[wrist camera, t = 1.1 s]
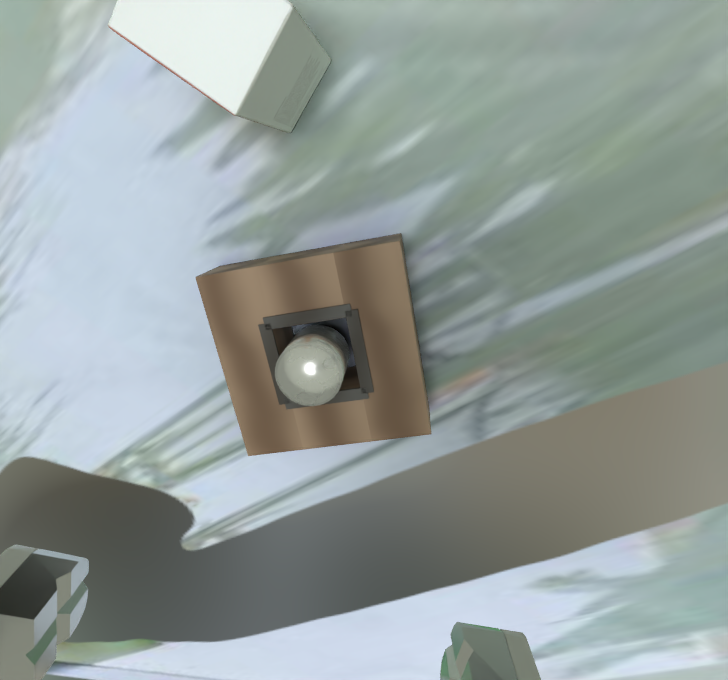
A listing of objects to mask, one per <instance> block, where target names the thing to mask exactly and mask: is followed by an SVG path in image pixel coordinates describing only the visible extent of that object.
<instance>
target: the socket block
mask: <svg viewBox="0 0 728 680" xmlns="http://www.w3.org/2000/svg"><path fill="white" fill-rule="evenodd" d="M196 281H197V284H198V288H199V291H200V294H201V298H202V301H203V304H204V308H205V311H206V315H207V318H208V321H209V325H210V328H211V331H212V335H213V338H214V342H215V345H216V348H217V352H218V355H219V359H220V362H221V365H222V369H223V372H224V375H225V379H226V382H227V386H228V389H229V392H230V396H231V399H232V402H233V406H234V409H235V413H236V416H237V419H238V423H239V426H240V430H241V433H242V436H243V440H244V443H245V446H246V450H247V453H248V456H252V455H261V454H269V453H277V452H286V451H294V450H303V449H311V448H319V447H328V446H336V445H345V444H353V443H361V442H370V441H378V440H387V439H395V438H403V437H412V436H420V435H429V434H431V424H430V412H429V403H428V397H427V391H426V385H425V379H424V372H423V366H422V360H421V354H420V347H419V341H418V335H417V329H416V323H415V316H414V310H413V304H412V298H411V291H410V285H409V279H408V273H407V267H406V260H405V254H404V248H403V242H402V236H401V233H400V234H394V235H389V236H383V237H378V238H372V239H367V240H361V241H356V242H350V243H344V244H339V245H333V246H328V247H322V248H317V249H311V250H306V251H300V252H295V253H289V254H284V255H278V256H272V257H267V258H261V259H256V260H250V261H245V262H239V263H234V264H228V265H223V266H219V267H216V268H214V269H212V270H210V271H208V272H206V273H204V274H201V275H199V276H197V277H196ZM340 318H346V320H347V325H348V330H349V334H350V339H351V344H352V349H353V354H354V359H355V364H356V366H353V367H347V369H346V372H345V375H344V378H343V381H342V384H341V387H340V389H339V391H338V393H337V394H336V395H335V397H333V398H332V399H331V400H330V401H328V402H326V403H324V404H321V405H317V406H305V405H301V404H298V403H295V402H293V401H292V400H290V399H289V398H287V397H286V396H285V395H284V394H283V392H282V391H281V390H280V388H279V386H278V384H277V382H276V378H275V367H276V363H277V360H278V358H279V357H280V355H281V354H282V352H283V351H284V350H285V348H286V347H287V346H288V344H289V343H290V341H291V340H292V339H293V337H294V336H293V332H292V328H291V326H296V325H302V324H308V323H315V322H321V321H327V320H334V319H340Z"/></svg>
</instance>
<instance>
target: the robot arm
mask: <svg viewBox="0 0 728 680" xmlns="http://www.w3.org/2000/svg"><path fill="white" fill-rule="evenodd" d="M88 572H89V569H88V559H86V558H82V557H77V556H72V555H67V554H63V553H58V552H53V551H48V550H42V549H35V548H30V547H26V546H21V545H14V546H12V547H10V548H8V549H6V550H5V551H4V552H3V553H2V554H1V555H0V680H42V678H43V677H44V675H45V674H46V672H47V671H48V669H49V668H50V666H51V665H52V663H53V662H54V660H55V659H56V645H58V644H60V643H61V642H63V641H65V640H66V639H68V638H69V637H70V636H71V634H72V633H73V631H74V630H75V628H76V627H77V625H78V623H79V621H80V619H81V616H82V614H83V612H84V609H85V605H86V601H87V595H88V588H87V587H86V585H85V584H84V583H83V581H82V580H83V579H84V578H85V576H86V575H87V574H88ZM451 639H452V645H451V646H450V647H448V648H447V649H445V652H444V655H443V659H442V664H441V673H440V680H541V678H540V675H539V672H538V670H537V667H536V664H535V661H534V658H533V655H532V653H531V650H530V647H529V644H528V641H527V638H526V637H525V635H524V634H523V633H521V632H515V631H509V630H503V629H500V630H499V629H497V628H491V627H485V626H479V625H473V624H466V623H460V622H457V623H456V624H455V625H454V627H453V629H452V632H451Z"/></svg>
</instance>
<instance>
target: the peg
mask: <svg viewBox="0 0 728 680" xmlns="http://www.w3.org/2000/svg"><path fill="white" fill-rule="evenodd" d="M349 358H350V352H349V347H348V344H347V342H346V340H345V339H344V338H343V336H342V335H341V334H340V333H339V332H337V331H336V330H334V329H333V328H331V327H328V326H325V325H311V326H307V327H305V328H303V329H301V330H300V331H299V332H298V333H297V334H296V335H295V336H294V337H293V339H292V340H291V341H290V343H289V344H288V346H287V347H286V348H285V350H284V351H283V352H282V354H281V355H280V357H279V358H278V360H277V363H276V367H275V378H276V382H277V384H278V386H279V388H280V390H281V391H282V392H283V394H284V395H285V396H286V397H287V398H289V399H290V400H292V401H293V402H295V403H298V404H301V405H305V406H317V405H321V404H324V403H326V402H328V401H330V400H331V399H332V398H333V397H335V395H336V394H337V393H338V391H339V389H340V387H341V384H342V381H343V378H344V375H345V372H346V369H347V366H348V363H349Z"/></svg>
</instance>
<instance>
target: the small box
mask: <svg viewBox="0 0 728 680" xmlns="http://www.w3.org/2000/svg"><path fill="white" fill-rule="evenodd" d="M108 26H109V28H110V29H112V30H113V31H114V32H116V33H117V34H118V35H120V36H121V37H123V38H124V39H125V40H127V41H128V42H130V43H131V44H132V45H134V46H135V47H137V48H138V49H140V50H141V51H142V52H144V53H145V54H147V55H148V56H149V57H151V58H152V59H154V60H155V61H157V62H158V63H159V64H161V65H162V66H164V67H165V68H167V69H168V70H169V71H171V72H172V73H174V74H175V75H177V76H178V77H179V78H181V79H182V80H184V81H185V82H187V83H188V84H189V85H191V86H192V87H194V88H195V89H197V90H198V91H200V92H201V93H203V94H204V95H205V96H207V97H208V98H210V99H211V100H212V101H214V102H215V103H217V104H218V105H219V106H221V107H222V108H224V109H225V110H227V111H228V112H230V113H231V114H233V115H234V116H239V117H242V118H245V119H248V120H251V121H254V122H257V123H260V124H263V125H266V126H269V127H272V128H276V129H279V130H281V131H284V132H287V133H291V132H292V130H293V128H294V126H295V124H296V123H297V121H298V119H299V117H300V116H301V114H302V112H303V110H304V108H305V107H306V105H307V103H308V101H309V100H310V98H311V96H312V94H313V92H314V91H315V89H316V87H317V85H318V84H319V82H320V80H321V78H322V77H323V75H324V73H325V71H326V69H327V68H328V66H329V64H330V62H331V58H330V57H329V56H328V54H327V53H326V52H325V50H324V49H323V47H322V46H321V45H320V43H319V42H318V40H317V39H316V37H315V36H314V34H313V33H312V32H311V30H310V29H309V27H308V26H307V24H306V23H305V22H304V20H303V19H302V17H301V16H300V14H299V13H298V12H297V10H296V9H295V7H294V6H293V5H292V3H291V2H289V1H288V0H117V3H116V5H115V8H114V11H113V14H112V16H111V18H110V21H109V23H108Z"/></svg>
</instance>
